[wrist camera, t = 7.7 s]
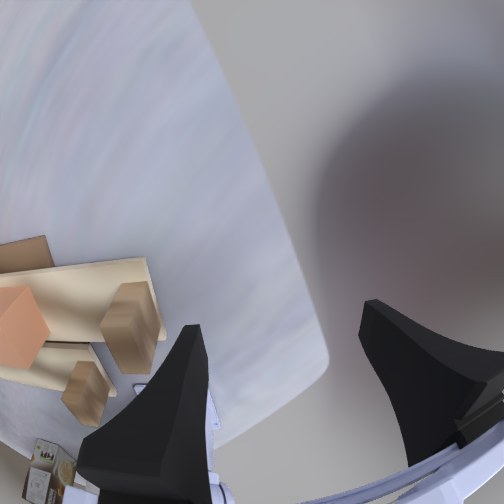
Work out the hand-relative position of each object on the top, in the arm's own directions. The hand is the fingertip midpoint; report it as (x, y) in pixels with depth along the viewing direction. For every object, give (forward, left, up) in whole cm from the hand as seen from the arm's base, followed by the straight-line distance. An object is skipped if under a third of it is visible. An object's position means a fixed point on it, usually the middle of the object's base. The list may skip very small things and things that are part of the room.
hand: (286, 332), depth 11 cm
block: (-3, +22, -8) cm, 24 cm away
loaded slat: (-3, +18, -9) cm, 21 cm away
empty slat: (-11, +26, -9) cm, 30 cm away
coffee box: (-41, +44, -10) cm, 61 cm away
